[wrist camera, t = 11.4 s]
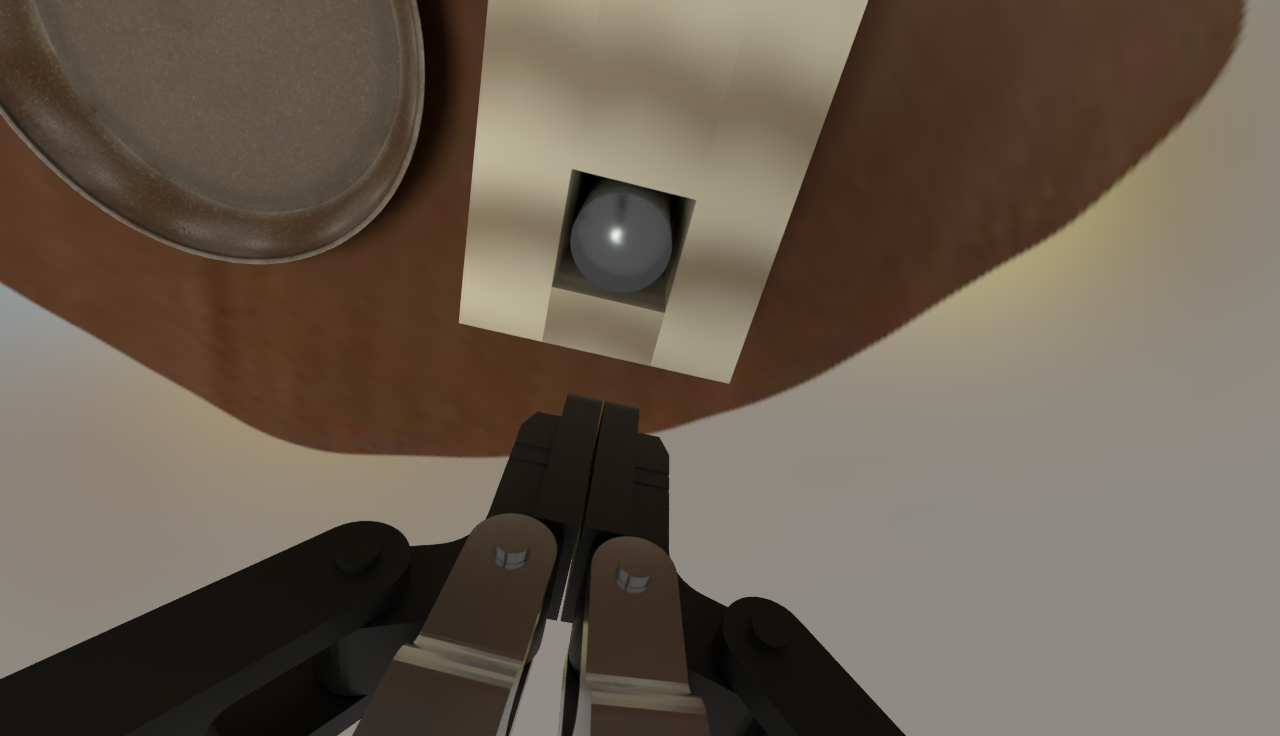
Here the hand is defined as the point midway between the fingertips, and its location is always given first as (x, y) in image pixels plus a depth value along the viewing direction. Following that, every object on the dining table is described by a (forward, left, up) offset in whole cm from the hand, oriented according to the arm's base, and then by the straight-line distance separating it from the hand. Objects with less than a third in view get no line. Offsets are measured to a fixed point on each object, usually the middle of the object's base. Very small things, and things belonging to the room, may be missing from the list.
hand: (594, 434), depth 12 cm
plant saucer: (-3, -20, -21) cm, 29 cm away
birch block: (-6, 0, -21) cm, 21 cm away
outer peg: (0, 0, -20) cm, 20 cm away
